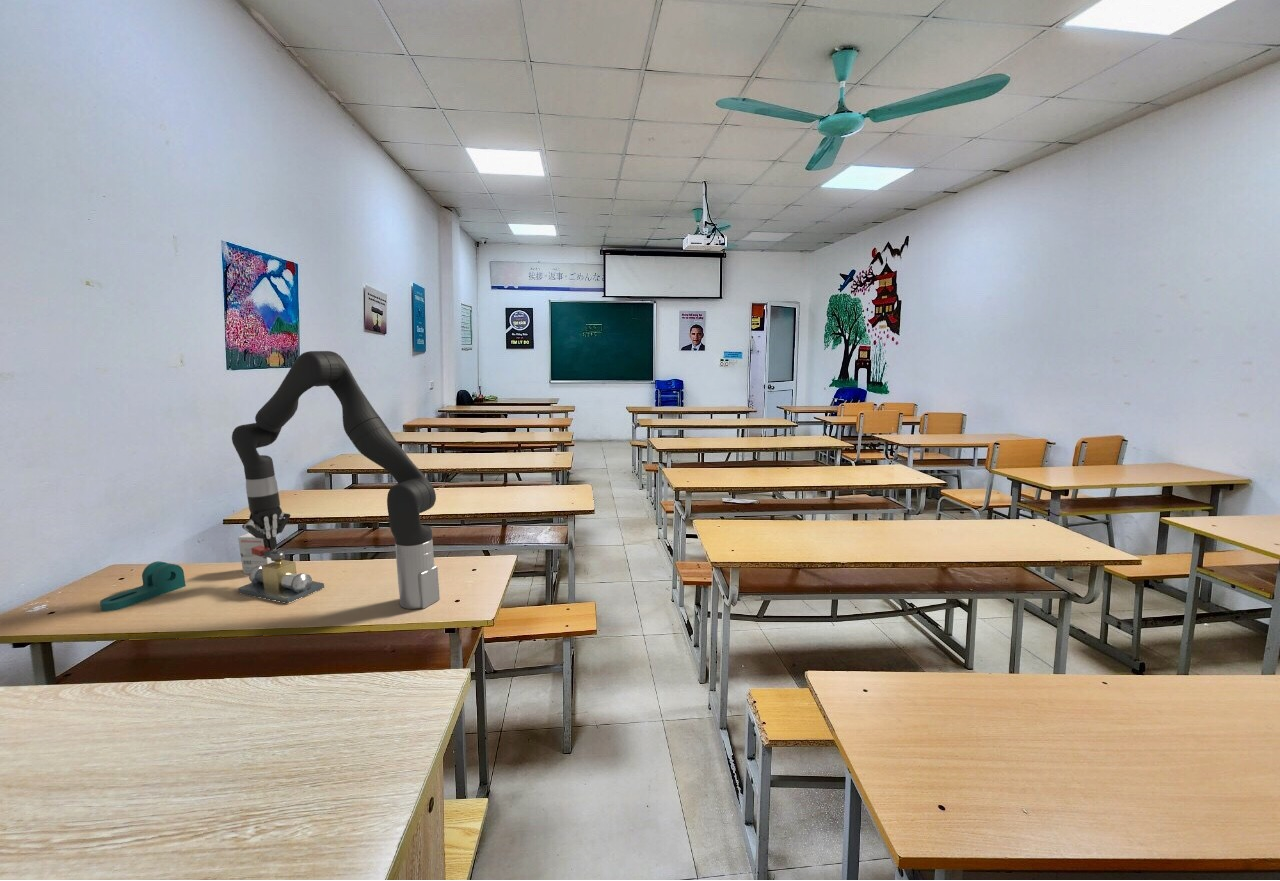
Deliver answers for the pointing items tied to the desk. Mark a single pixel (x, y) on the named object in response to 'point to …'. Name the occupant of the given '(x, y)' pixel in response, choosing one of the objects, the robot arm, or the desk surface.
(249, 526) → the robot arm
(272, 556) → the valve lever
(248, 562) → the ink box
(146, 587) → the bracket
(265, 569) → the valve pipe
